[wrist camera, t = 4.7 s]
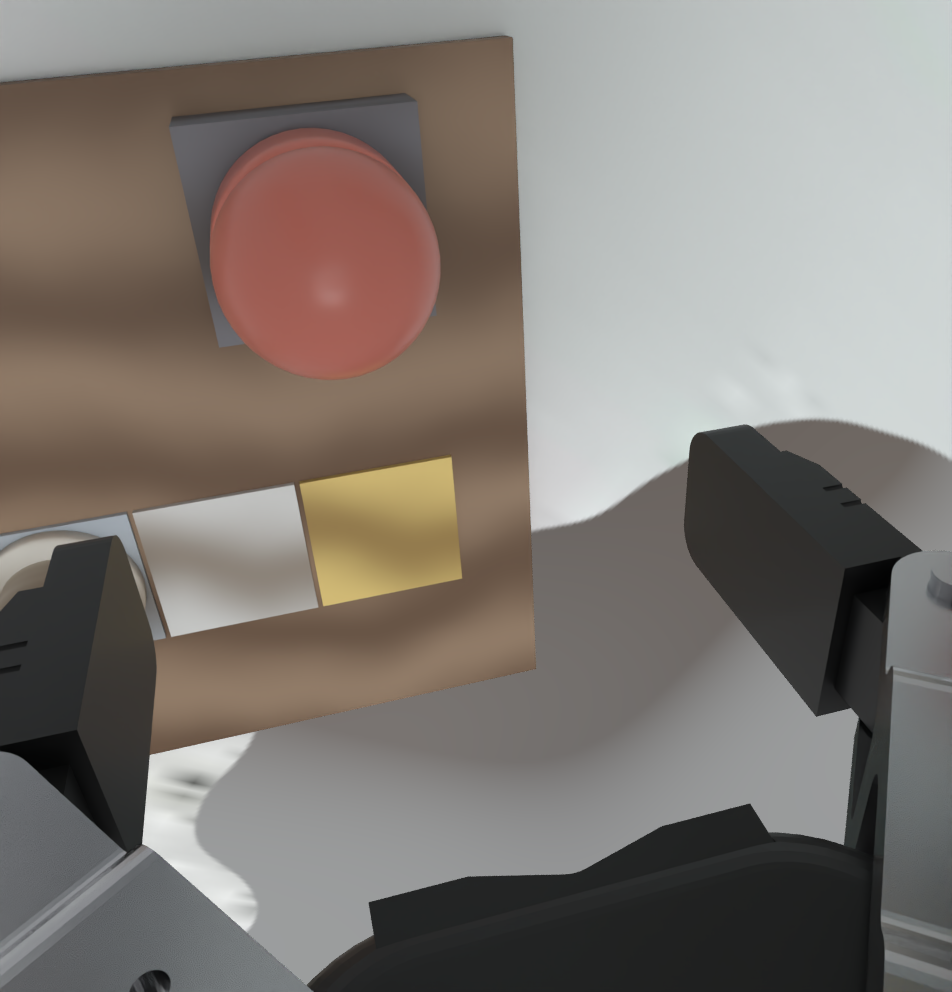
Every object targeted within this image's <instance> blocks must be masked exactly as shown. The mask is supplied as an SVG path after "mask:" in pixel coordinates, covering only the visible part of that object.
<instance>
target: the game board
mask: <svg viewBox="0 0 952 992" xmlns="http://www.w3.org/2000/svg"><path fill="white" fill-rule="evenodd" d="M299 128H321V129H330V130H334V131H338V132H342V133H345V134H347V135H350V136H353V137H355V138H357V139H359V140H361V141H363V142H364V143H366V144H368V145H369V146H371V147H372V148H373V149H375V150H376V151H378V152H379V153H380V154H381V155H382V156H383V157H384V158H385V159H386V160H387V161H388V162H389V163H390V164H391V165H392V166H393V167H394V168H395V169H396V171H397V172H398V173H399V174H400V175H401V176H402V177H403V179H404V180H405V181H406V182H407V183H408V184H409V186H410V187H411V188H412V189H413V191H414V192H415V193H416V194H417V196H418V197H419V199H420V200H421V202H422V204H423V205H424V207H425V209H426V211H427V212H428V215H429V217H430V219H431V221H432V224H433V226H434V229H435V233H436V236H437V240H438V245H439V252H440V273H441V274H440V283H439V290H438V294H437V298H436V302H435V305H434V307H433V310H432V312H431V315H430V317H429V319H428V321H427V322H426V324H425V326H424V328H423V330H422V331H421V332H420V334H419V335H418V337H417V338H416V340H415V341H414V342H413V343H412V344H411V345H410V346H409V347H408V348H407V349H406V350H405V351H404V352H403V353H402V354H401V355H399V356H398V357H397V358H396V359H394V360H393V361H391V362H390V363H388V364H387V365H385V366H383V367H381V368H379V369H377V370H375V371H373V372H370V373H367V374H364V375H362V376H358V377H353V378H349V379H340V380H319V379H312V378H306V377H302V376H299V375H295V374H292V373H290V372H287V371H285V370H282V369H280V368H278V367H276V366H274V365H273V364H271V363H269V362H267V361H265V360H264V359H263V358H261V357H260V356H259V355H257V354H256V353H255V352H253V351H252V350H251V349H250V348H249V347H248V346H247V345H246V344H245V343H244V342H243V341H242V340H241V338H240V337H239V336H238V335H237V333H236V332H235V331H234V330H233V328H232V327H231V325H230V324H229V322H228V321H227V319H226V317H225V316H224V314H223V312H222V309H221V307H220V305H219V303H218V300H217V297H216V294H215V290H214V287H213V282H212V276H211V270H210V224H211V215H212V208H213V204H214V200H215V197H216V194H217V191H218V189H219V187H220V184H221V182H222V180H223V179H224V177H225V175H226V174H227V172H228V170H229V169H230V168H231V167H232V165H233V164H234V163H235V162H236V161H237V159H238V158H239V157H241V156H242V155H243V154H244V153H245V152H246V151H247V150H248V149H250V148H251V147H253V146H254V145H255V144H257V143H258V142H260V141H262V140H264V139H266V138H268V137H270V136H272V135H275V134H278V133H281V132H284V131H288V130H294V129H299ZM54 530H67V531H77V532H82V533H87V534H91V535H94V536H98V537H100V538H102V537H107V536H113V535H117V536H118V537H119V538H120V540H121V542H122V544H123V546H124V548H125V551H126V553H127V554H128V555H129V556H130V557H131V558H132V559H133V561H134V562H135V563H136V564H137V566H138V567H139V569H140V571H141V573H142V575H143V577H144V580H145V584H146V591H147V598H146V607H145V612H146V615H147V618H148V621H149V625H150V628H151V632H152V636H153V640H154V646H155V653H156V664H157V674H156V687H155V698H154V710H153V721H152V733H151V745H150V755H151V754H156V753H160V752H165V751H169V750H174V749H178V748H183V747H187V746H192V745H196V744H201V743H205V742H210V741H214V740H219V739H223V738H228V737H232V736H237V735H241V734H246V733H250V732H255V731H259V730H264V729H268V728H273V727H277V726H281V725H286V724H291V723H295V722H300V721H304V720H308V719H313V718H317V717H322V716H326V715H331V714H335V713H340V712H344V711H349V710H353V709H358V708H362V707H367V706H371V705H376V704H380V703H385V702H389V701H394V700H398V699H403V698H407V697H412V696H416V695H421V694H425V693H429V692H434V691H439V690H443V689H448V688H452V687H456V686H461V685H466V684H470V683H475V682H479V681H484V680H488V679H493V678H497V677H501V676H506V675H511V674H515V673H520V672H524V671H529V670H533V669H536V657H535V632H534V631H535V630H534V605H533V604H534V603H533V578H532V577H533V576H532V550H531V522H530V495H529V468H528V440H527V413H526V386H525V359H524V332H523V305H522V278H521V251H520V224H519V197H518V170H517V143H516V116H515V89H514V62H513V37H509V36H498V37H487V38H476V39H465V40H454V41H444V42H433V43H422V44H411V45H401V46H390V47H379V48H368V49H357V50H347V51H336V52H325V53H314V54H304V55H293V56H282V57H271V58H261V59H250V60H239V61H228V62H217V63H207V64H196V65H185V66H174V67H164V68H153V69H142V70H131V71H120V72H110V73H99V74H88V75H77V76H67V77H56V78H45V79H34V80H24V81H13V82H2V83H0V551H1V550H2V549H4V548H5V547H6V546H8V545H9V544H11V543H12V542H14V541H16V540H18V539H21V538H23V537H26V536H29V535H31V534H35V533H40V532H45V531H54Z"/></svg>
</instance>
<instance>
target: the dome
mask: <svg viewBox="0 0 952 992" xmlns="http://www.w3.org/2000/svg"><path fill="white" fill-rule="evenodd" d="M210 270H211V276H212V282H213V287H214V290H215V294H216V297H217V300H218V303H219V305H220V307H221V309H222V312H223V314H224V316H225V317H226V319H227V321H228V322H229V324H230V325H231V327H232V328H233V330H234V331H235V332H236V333H237V335H238V336H239V337H240V338H241V340H242V341H243V342H244V343H245V344H246V345H247V346H248V347H249V348H250V349H251V350H252V351H253V352H255V353H256V354H257V355H259V356H260V357H261V358H263V359H264V360H265V361H267V362H269V363H271V364H273V365H274V366H276V367H278V368H280V369H282V370H285V371H287V372H290V373H292V374H295V375H299V376H302V377H306V378H312V379H319V380H340V379H349V378H353V377H358V376H362V375H364V374H367V373H370V372H373V371H375V370H377V369H379V368H381V367H383V366H385V365H387V364H388V363H390V362H391V361H393V360H394V359H396V358H397V357H398V356H399V355H401V354H402V353H403V352H404V351H405V350H406V349H407V348H408V347H409V346H410V345H411V344H412V343H413V342H414V341H415V340H416V338H417V337H418V335H419V334H420V332H421V331H422V330H423V328H424V326H425V324H426V322H427V321H428V319H429V317H430V315H431V312H432V310H433V307H434V305H435V302H436V298H437V294H438V290H439V283H440V274H441V273H440V252H439V245H438V240H437V236H436V233H435V229H434V226H433V224H432V221H431V219H430V217H429V215H428V212H427V211H426V209H425V207H424V205H423V204H422V202H421V200H420V199H419V197H418V196H417V194H416V193H415V192H414V191H413V189H412V188H411V187H410V186H409V184H408V183H407V182H406V181H405V180H404V179H403V177H402V176H401V175H400V174H399V173H398V172H397V171H396V169H395V168H394V167H393V166H392V165H391V164H390V163H389V162H388V161H387V160H386V159H385V158H384V157H383V156H382V155H381V154H380V153H379V152H378V151H376V150H375V149H373V148H372V147H371V146H369V145H368V144H366V143H364V142H363V141H361V140H359V139H357V138H355V137H353V136H350V135H347V134H345V133H342V132H338V131H334V130H330V129H321V128H299V129H294V130H288V131H284V132H281V133H278V134H275V135H272V136H270V137H268V138H266V139H264V140H262V141H260V142H258V143H257V144H255V145H254V146H253V147H251V148H250V149H248V150H247V151H246V152H245V153H244V154H243V155H242V156H241V157H239V158H238V159H237V161H236V162H235V163H234V164H233V165H232V167H231V168H230V169H229V170H228V172H227V174H226V175H225V177H224V179H223V180H222V182H221V184H220V187H219V189H218V191H217V194H216V197H215V200H214V204H213V208H212V215H211V224H210Z"/></svg>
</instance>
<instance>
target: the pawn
mask: <svg viewBox="0 0 952 992" xmlns="http://www.w3.org/2000/svg"><path fill="white" fill-rule="evenodd" d="M96 538H100V537H98V536H94V535H91V534H87V533H82V532H77V531H67V530H54V531H45V532H40V533H35V534H31V535H29V536H26V537H23V538H21V539H18V540H16V541H14V542H12V543H11V544H9V545H8V546H6V547H5V548H4V549H2V550H1V551H0V611H1V610H2V609H3V608H4V606H5V605H6V604H7V603H8V602H9V601H10V600H11V599H12V598H13V597H14V596H15V594H16V593H17V592H18V591H23V590H29V589H34V588H39V587H43V585H44V582H45V578H46V574H47V571H48V567H49V564H50V560H51V557H52V553H53V550H54V548H55V547H56V546H57V545H62V544H68V543H74V542H79V541H85V540H90V539H96ZM126 554H127V553H126ZM127 557H128V560H129V563H130V566H131V569H132V572H133V576H134V579H135V582H136V585H137V588H138V591H139V594H140V597H141V600H142V603H143V606H144V609H145V607H146V598H147V591H146V584H145V580H144V577H143V575H142V573H141V571H140V569H139V567H138V566H137V564H136V563H135V562H134V561H133V559H132V558H131V557H130V556H129V555H128V554H127Z"/></svg>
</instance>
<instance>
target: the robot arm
mask: <svg viewBox="0 0 952 992" xmlns="http://www.w3.org/2000/svg"><path fill="white" fill-rule="evenodd" d="M684 531H685V538H686V543H687V547H688V550H689V553H690V555H691V557H692V559H693V561H694V563H695V564H696V566H697V567H698V568H699V570H700V571H701V572H702V573H703V575H704V576H705V577H706V578H707V580H708V581H709V582H710V583H711V585H712V586H713V587H714V588H715V590H716V591H717V592H718V593H719V595H720V596H721V597H722V599H723V600H724V601H725V602H726V604H727V605H728V606H729V607H730V609H731V610H732V611H733V612H734V614H735V615H736V616H737V617H738V619H739V620H740V621H741V622H742V623H743V625H744V626H745V627H746V629H747V630H748V631H749V632H750V634H751V635H752V636H753V638H754V639H755V640H756V641H757V643H758V644H759V645H760V646H761V647H762V649H763V650H764V651H765V653H766V654H767V655H768V656H769V658H770V659H771V660H772V661H773V663H774V664H775V665H776V666H777V668H778V669H779V670H780V672H781V673H782V674H783V675H784V677H785V678H786V679H787V680H788V681H789V683H790V684H791V685H792V686H793V688H794V689H795V690H796V691H797V693H798V694H799V695H800V697H801V698H802V699H803V700H804V702H805V703H806V704H807V705H808V707H809V708H810V709H811V711H812V712H813V713H814V714H815V716H816V717H817V716H821V715H824V714H829V713H833V712H837V711H841V710H845V709H849V708H852V709H853V711H854V712H855V713H856V714H857V715H858V717H859V718H858V723H857V728H856V732H855V736H854V745H853V755H852V766H851V777H850V786H849V797H848V809H847V818H846V828H845V839H844V845H841V844H838V843H835V842H831V841H828V840H825V839H820V838H814V837H809V836H804V835H798V834H786V833H768V831H767V830H766V828H765V827H764V825H763V823H762V822H761V820H760V819H759V817H758V815H757V814H756V812H755V811H754V809H753V808H752V806H751V804H746V805H743V806H739V807H735V808H731V809H727V810H723V811H719V812H716V813H712V814H708V815H704V816H700V817H696V818H692V819H689V820H685V821H681V822H677V823H673V824H669V825H665V826H662V827H660V828H658V829H656V830H655V831H653V832H651V833H649V834H647V835H646V836H644V837H642V838H640V839H638V840H637V841H635V842H633V843H631V844H629V845H628V846H626V847H624V848H622V849H620V850H619V851H617V852H615V853H613V854H611V855H610V856H608V857H606V858H604V859H602V860H601V861H599V862H597V863H595V864H593V865H592V866H590V867H588V868H586V869H584V870H582V871H580V872H577V873H573V874H565V875H522V876H476V877H465V878H461V879H457V880H453V881H449V882H446V883H442V884H438V885H434V886H431V887H426V888H422V889H419V890H415V891H411V892H407V893H404V894H399V895H395V896H392V897H388V898H384V899H380V900H376V901H372V902H369V908H370V914H371V920H372V926H373V932H374V935H373V936H371V937H369V938H367V939H366V940H364V941H362V942H360V943H358V944H357V945H355V946H353V947H352V948H351V949H349V950H348V951H346V952H345V953H343V954H342V955H341V956H339V957H338V958H336V959H335V960H334V961H333V962H331V963H330V964H329V965H328V966H327V967H326V968H325V969H323V970H322V971H321V972H320V973H319V974H318V975H317V976H315V977H314V978H313V979H312V980H311V981H310V982H309V983H308V984H307V985H305V984H304V983H303V982H302V981H301V980H300V979H299V978H298V977H296V976H295V975H294V974H293V973H292V972H291V971H290V970H288V969H287V968H286V967H285V966H284V965H283V964H282V963H281V962H279V961H278V960H277V959H276V958H275V957H274V956H273V955H272V954H270V953H269V952H268V951H267V950H266V949H265V948H264V947H263V946H261V945H260V944H259V943H258V942H257V941H256V940H254V939H253V938H252V937H251V936H250V935H249V934H248V933H247V932H246V931H244V930H243V929H242V928H241V927H240V926H239V925H238V924H237V923H235V922H234V921H233V920H232V919H231V918H230V917H229V916H228V915H226V914H225V913H224V912H223V911H222V910H221V909H220V908H218V907H217V906H216V905H215V904H214V903H213V902H212V901H211V900H209V899H208V898H207V897H206V896H205V895H204V894H203V893H202V892H200V891H199V890H198V889H197V888H196V887H195V886H194V885H192V884H191V883H190V882H189V881H188V880H187V879H186V878H185V877H183V876H182V875H181V874H180V873H179V872H178V871H177V870H176V869H174V868H173V867H172V866H171V865H170V864H169V863H168V862H166V861H165V860H164V859H163V858H162V857H161V856H160V855H158V854H157V853H156V852H155V851H153V850H152V849H150V848H149V847H147V846H145V845H142V837H143V826H144V814H145V803H146V791H147V779H148V768H149V756H150V745H151V733H152V721H153V710H154V698H155V687H156V674H157V664H156V653H155V646H154V640H153V636H152V632H151V628H150V625H149V621H148V618H147V615H146V612H145V609H144V606H143V603H142V600H141V597H140V594H139V591H138V588H137V585H136V582H135V579H134V576H133V572H132V569H131V566H130V563H129V560H128V557H127V554H126V551H125V548H124V546H123V544H122V542H121V540H120V538H119V537H118V536H117V535H113V536H107V537H102V538H96V539H90V540H85V541H79V542H74V543H68V544H62V545H57V546H56V547H55V548H54V550H53V553H52V557H51V560H50V564H49V567H48V571H47V574H46V578H45V582H44V585H43V587H39V588H34V589H29V590H23V591H18V592H17V593H16V594H15V596H14V597H13V598H12V599H11V600H10V601H9V602H8V603H7V604H6V605H5V606H4V608H3V609H2V610H1V611H0V992H952V552H950V551H922V550H921V549H920V548H918V547H917V546H916V545H915V544H914V543H912V542H911V541H910V540H909V539H908V538H906V537H905V536H904V535H903V534H902V533H900V532H899V531H898V530H897V529H895V528H894V527H893V526H892V525H891V524H889V523H888V522H887V521H886V520H885V519H884V518H882V517H881V516H880V515H879V514H877V513H876V512H875V511H874V510H873V509H872V508H870V507H869V506H868V505H867V504H866V503H865V504H862V503H861V499H860V498H858V497H857V496H856V495H855V494H854V493H852V492H851V491H850V490H849V489H848V488H843V487H842V484H841V483H840V482H839V481H838V480H837V479H836V478H834V477H833V476H832V475H831V474H830V473H828V472H827V471H826V470H825V469H824V468H822V467H821V466H820V465H818V464H816V463H814V462H811V461H809V460H807V459H805V458H802V457H800V456H798V455H795V454H793V453H791V452H788V451H782V452H780V451H779V450H778V449H777V448H776V447H775V446H773V445H772V444H771V443H770V442H769V441H768V440H766V439H765V438H764V437H763V436H762V435H761V434H759V433H758V432H757V431H756V430H755V429H754V428H753V427H751V426H749V425H739V426H733V427H728V428H722V429H717V430H711V431H705V432H700V433H697V434H696V435H695V436H694V437H693V439H692V441H691V445H690V451H689V464H688V478H687V493H686V505H685V518H684Z"/></svg>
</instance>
